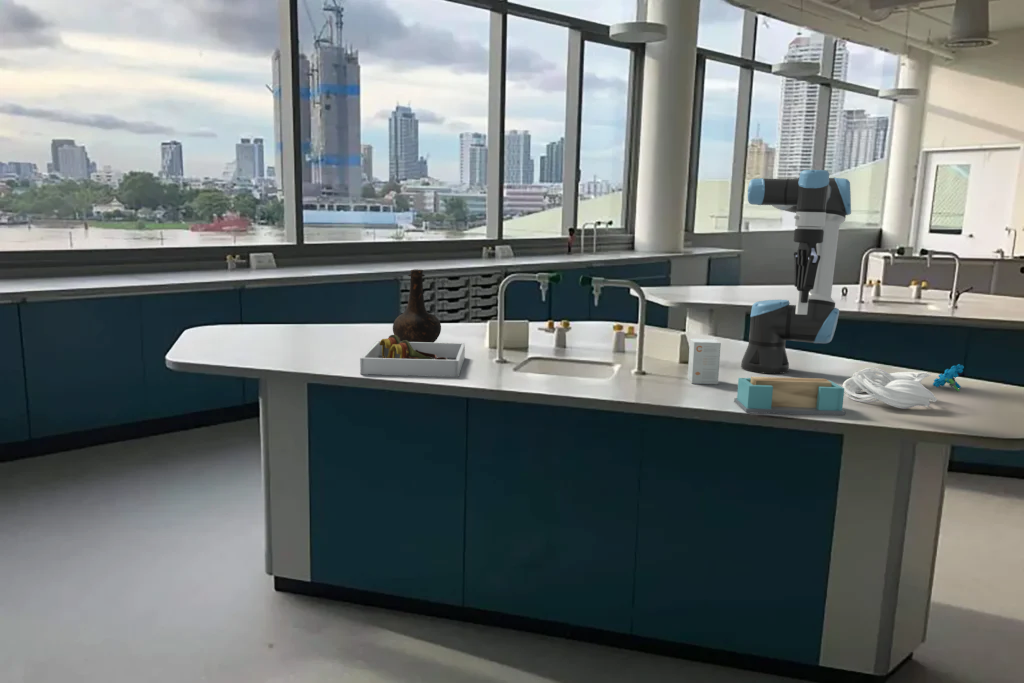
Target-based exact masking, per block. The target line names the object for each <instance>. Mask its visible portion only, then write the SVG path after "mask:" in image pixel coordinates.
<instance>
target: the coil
mask: <svg viewBox="0 0 1024 683" xmlns="http://www.w3.org/2000/svg"><path fill="white" fill-rule="evenodd" d="M930 376H931V373H928V371H923V372H920V371H919V372H914V371H899V372H891V373H889V372H888V371H886V370H884V369H881V368H879V367H878V368H877V367H866V368H863V369H861V370H858V371H856V372H853V374H852V376H851V377H850V378H847V379H846V380H844V382H843V383H842V386H841V387H843V388H844V396H845V397H847V398H849V399H850V400H853V401H856V402H861V403H875V402H881V403H884V404H887V405H888V406H891V407H894V408H898V409H911V408H913V407H918V406H919V407H920V406H921V407H926V408H929V407H930V405H931V404H930V402H931V401H933V402H934V403H935V402H937V400H938V399H937V397H936V396H935V394H934V393H933V392H932V391H931V390H930V389H928V388H926V387H925V386H924V385H923V384H922V381H923V380H924V379H925V378H927V377H930ZM847 386H850V387H849V388H847ZM864 392H866V393H867V394H862V393H864ZM857 398H858V399H857Z"/></svg>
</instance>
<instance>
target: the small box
mask: <svg viewBox="0 0 1024 683" xmlns="http://www.w3.org/2000/svg"><path fill="white" fill-rule="evenodd" d="M721 344H722V343H721V342H720V341H719V340H717V339H716V338H689V350H688V368H687V380H688V381H689V382H690V383H691V384H695V385H696V384H698V385H700V384H701V385H718V384H719V373H720V360H721V359H720V358H721Z"/></svg>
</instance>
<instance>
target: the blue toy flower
mask: <svg viewBox="0 0 1024 683" xmlns="http://www.w3.org/2000/svg"><path fill="white" fill-rule="evenodd" d="M964 368H965V366H964V365H963V364H960V363H958V364H956V365H952V366H951V367H950V369H949V368H946V369H945V370H944V373H939V374H938V375H937V377H938V378H937V377H936V378H935V379H933V381H934V382H933V383H932V385H933V386H934V387H936V388H939V387H943V386H945V385H946V383H947V384H948V385H949V386H950V387H951V388H952V387H953V388H954V389H955V390H956V392H958V391H959V392H960V390H961V389H960V388H962V386H961V385H960V384H959V383H958V382H957V381H956V378H958V377H959V374H961V373H963V372H964V370H963V369H964ZM958 388H959V389H958Z"/></svg>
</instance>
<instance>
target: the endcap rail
mask: <svg viewBox="0 0 1024 683" xmlns="http://www.w3.org/2000/svg"><path fill="white" fill-rule="evenodd" d="M827 380H828V381H830V382H832V384H831V387H818V396H817V406H816V408H806V407H771V404H772V393H773V386H771V385H753V384H751V383H750V382H751V377H738V380H737V381H738V383H737V394H736V398H735V397H734V399H733V403H735V404H736V405H737V406H738V407H739V408H740V409H742V411H743V412H745V413H749V414H777V415H778V414H782V415H783V414H785V415H787V414H788V415H818V414H826V416H831V415H832V416H846V411H845V410H844V409H843V407H844V406H843V405H844V398H845V397H844V396H845V394H844V392H845V390H844V388H843V387H842V386H841V385H839V384H837V383H835V382H834V381H832V380H830V379H827Z"/></svg>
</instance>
